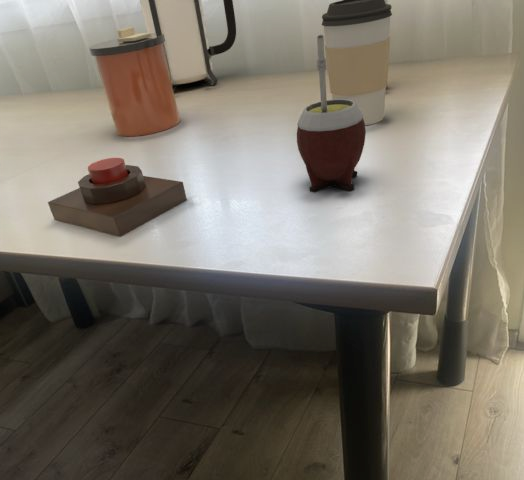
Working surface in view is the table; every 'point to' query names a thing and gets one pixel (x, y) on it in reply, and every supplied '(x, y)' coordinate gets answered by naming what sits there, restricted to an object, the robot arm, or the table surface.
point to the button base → (118, 202)
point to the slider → (131, 35)
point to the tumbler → (137, 85)
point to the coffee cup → (358, 53)
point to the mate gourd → (330, 137)
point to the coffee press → (187, 37)
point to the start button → (107, 170)
